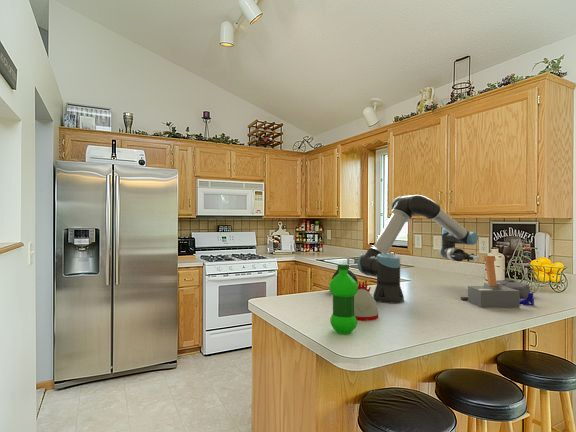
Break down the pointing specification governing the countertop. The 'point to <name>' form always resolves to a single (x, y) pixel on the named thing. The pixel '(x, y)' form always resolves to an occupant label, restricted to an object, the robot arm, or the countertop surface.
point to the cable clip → (528, 300)
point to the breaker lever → (491, 270)
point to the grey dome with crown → (364, 304)
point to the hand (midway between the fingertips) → (477, 259)
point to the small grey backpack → (516, 287)
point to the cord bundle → (464, 298)
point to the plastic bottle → (343, 301)
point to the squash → (348, 273)
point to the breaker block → (493, 296)
